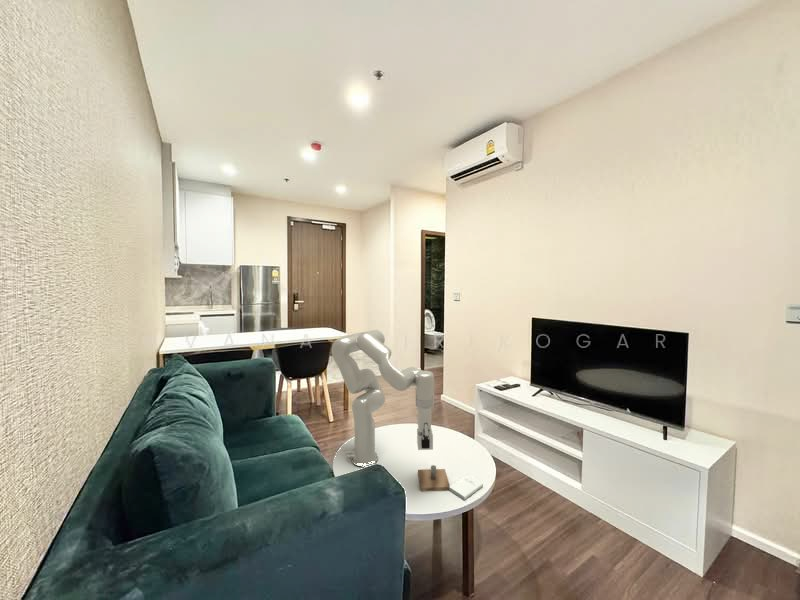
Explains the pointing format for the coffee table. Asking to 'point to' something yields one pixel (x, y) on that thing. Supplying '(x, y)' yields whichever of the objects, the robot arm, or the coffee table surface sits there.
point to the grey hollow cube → (419, 440)
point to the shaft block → (433, 479)
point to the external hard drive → (465, 487)
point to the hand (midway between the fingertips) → (424, 443)
